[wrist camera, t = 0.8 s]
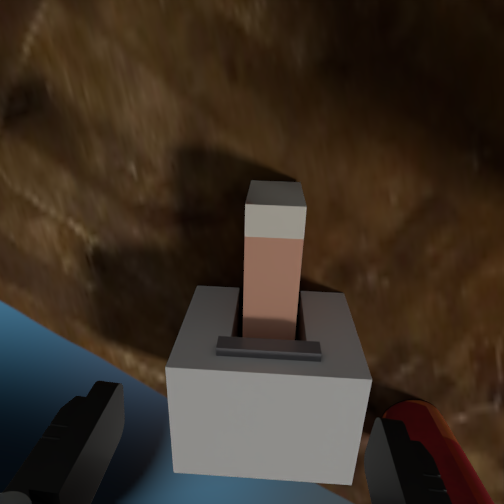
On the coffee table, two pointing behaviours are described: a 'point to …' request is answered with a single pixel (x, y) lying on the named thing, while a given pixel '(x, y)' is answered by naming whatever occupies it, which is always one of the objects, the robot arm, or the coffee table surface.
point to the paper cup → (441, 450)
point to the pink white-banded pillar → (272, 258)
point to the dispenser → (267, 392)
